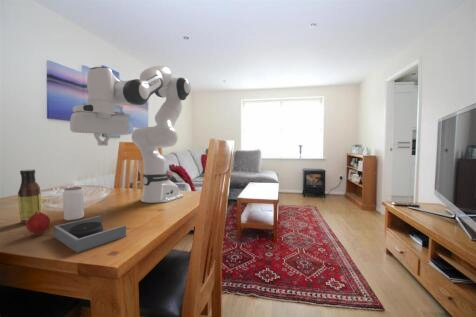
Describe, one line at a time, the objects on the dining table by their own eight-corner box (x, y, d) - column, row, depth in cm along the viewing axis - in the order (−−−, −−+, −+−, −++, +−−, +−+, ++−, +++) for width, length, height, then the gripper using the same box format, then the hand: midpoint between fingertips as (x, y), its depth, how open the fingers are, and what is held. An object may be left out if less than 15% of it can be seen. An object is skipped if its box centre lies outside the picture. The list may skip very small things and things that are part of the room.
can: (73, 221, 84) (72, 190, 83) (59, 220, 85) (58, 189, 85) (88, 216, 90) (87, 187, 90) (74, 215, 92) (73, 186, 91)
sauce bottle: (32, 218, 87) (30, 168, 86) (47, 219, 86) (45, 168, 85) (14, 224, 80) (11, 170, 79) (29, 225, 80) (27, 170, 79)
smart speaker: (106, 231, 75) (106, 219, 75) (99, 242, 67) (98, 229, 66) (75, 234, 72) (75, 222, 72) (64, 246, 64) (63, 232, 64)
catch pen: (100, 224, 81) (100, 215, 81) (126, 236, 71) (126, 225, 71) (54, 237, 70) (53, 226, 70) (76, 252, 60) (76, 240, 60)
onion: (30, 233, 73) (29, 209, 72) (52, 230, 75) (51, 207, 75) (24, 240, 67) (22, 214, 67) (48, 236, 70) (47, 211, 70)
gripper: (124, 113, 96) (124, 145, 96) (67, 106, 79) (68, 145, 80) (132, 112, 92) (132, 145, 93) (74, 104, 75) (75, 145, 76)
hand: (102, 145), depth 86 cm, fingers closed
